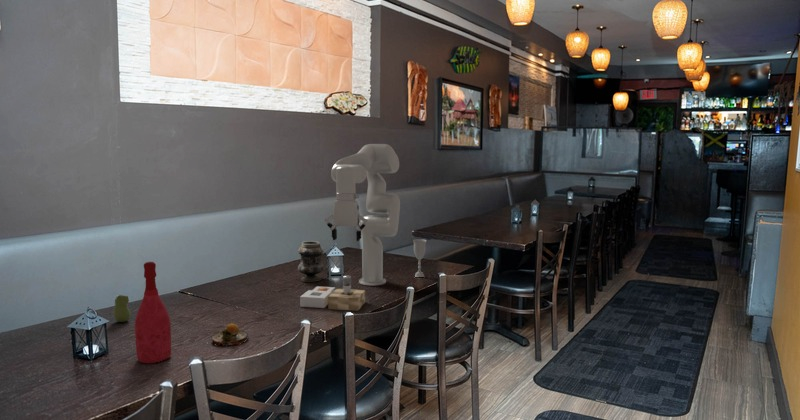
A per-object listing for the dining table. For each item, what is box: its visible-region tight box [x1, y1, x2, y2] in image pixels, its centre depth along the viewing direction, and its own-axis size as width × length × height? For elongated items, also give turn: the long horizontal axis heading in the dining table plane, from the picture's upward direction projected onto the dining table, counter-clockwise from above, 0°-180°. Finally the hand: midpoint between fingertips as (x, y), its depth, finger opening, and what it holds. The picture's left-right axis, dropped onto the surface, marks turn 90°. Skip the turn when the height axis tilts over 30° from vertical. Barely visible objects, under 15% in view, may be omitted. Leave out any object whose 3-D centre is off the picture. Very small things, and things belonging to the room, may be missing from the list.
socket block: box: [299, 285, 336, 309], centre depth 231 cm, size 18×10×4 cm, turn 170°
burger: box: [210, 321, 249, 347], centre depth 186 cm, size 12×12×8 cm
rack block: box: [327, 288, 366, 312], centre depth 225 cm, size 12×12×5 cm
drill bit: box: [342, 274, 352, 295], centre depth 225 cm, size 3×3×12 cm
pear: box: [113, 294, 132, 323], centre depth 203 cm, size 6×5×10 cm
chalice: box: [412, 238, 427, 278], centre depth 271 cm, size 7×7×18 cm
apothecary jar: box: [297, 240, 324, 283], centre depth 265 cm, size 12×12×18 cm
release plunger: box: [319, 286, 327, 291], centre depth 236 cm, size 4×4×3 cm
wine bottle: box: [134, 261, 172, 364], centre depth 168 cm, size 10×10×30 cm
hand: (346, 239), depth 223 cm, fingers open, 9 cm apart
